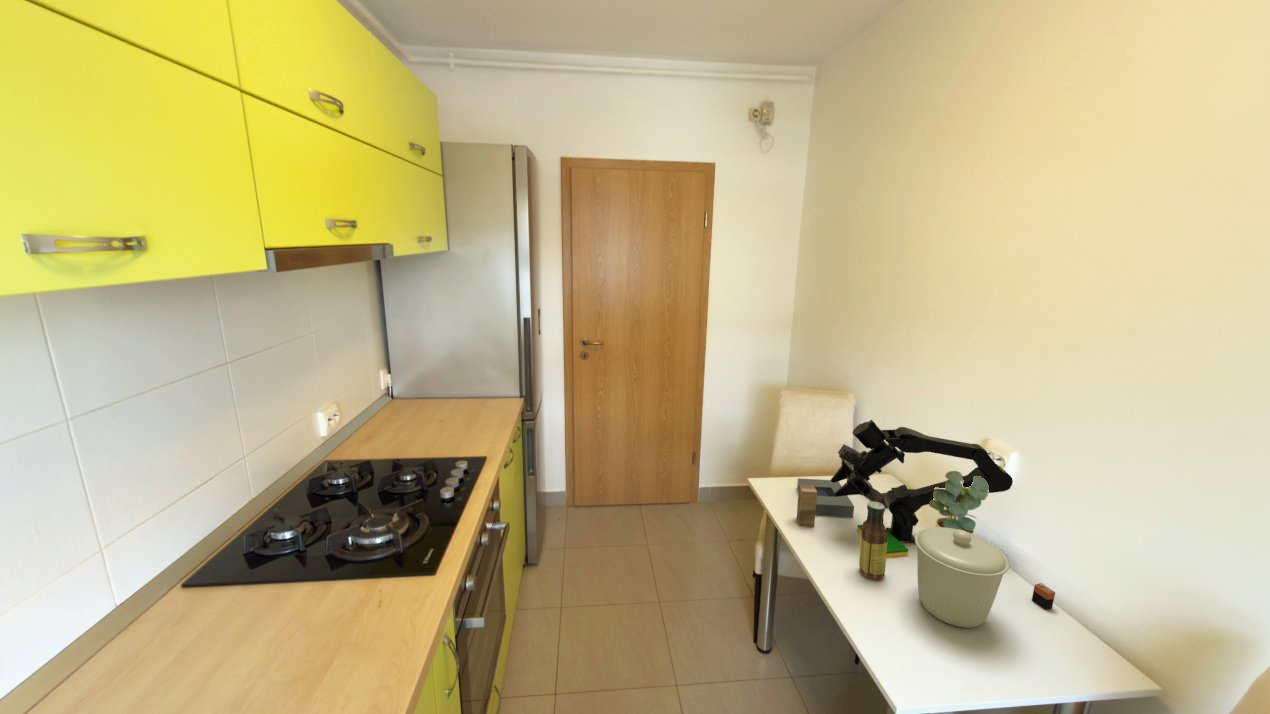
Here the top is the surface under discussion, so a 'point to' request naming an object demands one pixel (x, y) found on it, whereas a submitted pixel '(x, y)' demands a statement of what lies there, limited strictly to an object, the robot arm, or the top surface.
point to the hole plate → (829, 498)
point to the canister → (958, 575)
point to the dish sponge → (892, 545)
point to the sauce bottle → (873, 543)
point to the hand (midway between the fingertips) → (833, 488)
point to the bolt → (878, 496)
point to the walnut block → (806, 505)
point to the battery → (1043, 596)
